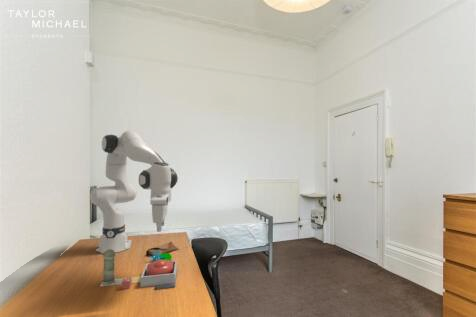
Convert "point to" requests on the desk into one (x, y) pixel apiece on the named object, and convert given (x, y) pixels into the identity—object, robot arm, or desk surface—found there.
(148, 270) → the dome
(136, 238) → the desk surface
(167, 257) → the stick construction toy
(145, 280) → the game board
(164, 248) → the sunglasses case
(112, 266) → the pawn
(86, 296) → the desk surface
